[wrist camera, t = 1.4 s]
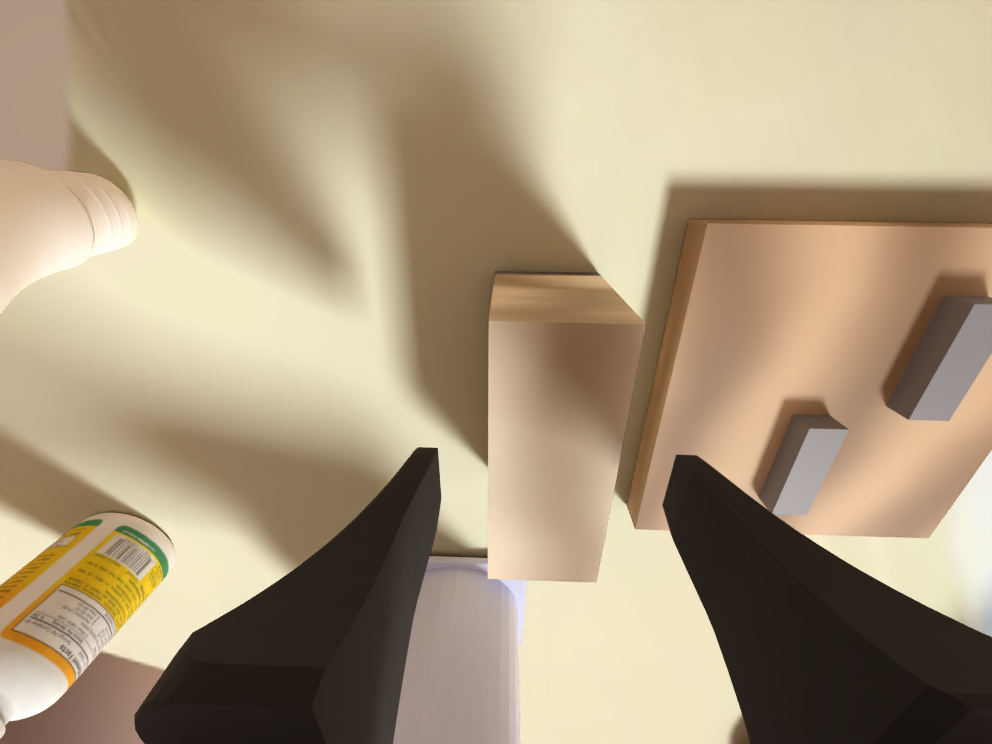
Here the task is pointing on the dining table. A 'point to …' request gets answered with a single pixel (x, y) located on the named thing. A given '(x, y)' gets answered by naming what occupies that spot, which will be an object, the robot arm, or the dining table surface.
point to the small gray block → (802, 463)
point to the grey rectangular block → (946, 360)
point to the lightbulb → (56, 222)
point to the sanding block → (555, 420)
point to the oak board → (815, 366)
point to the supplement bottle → (73, 606)
